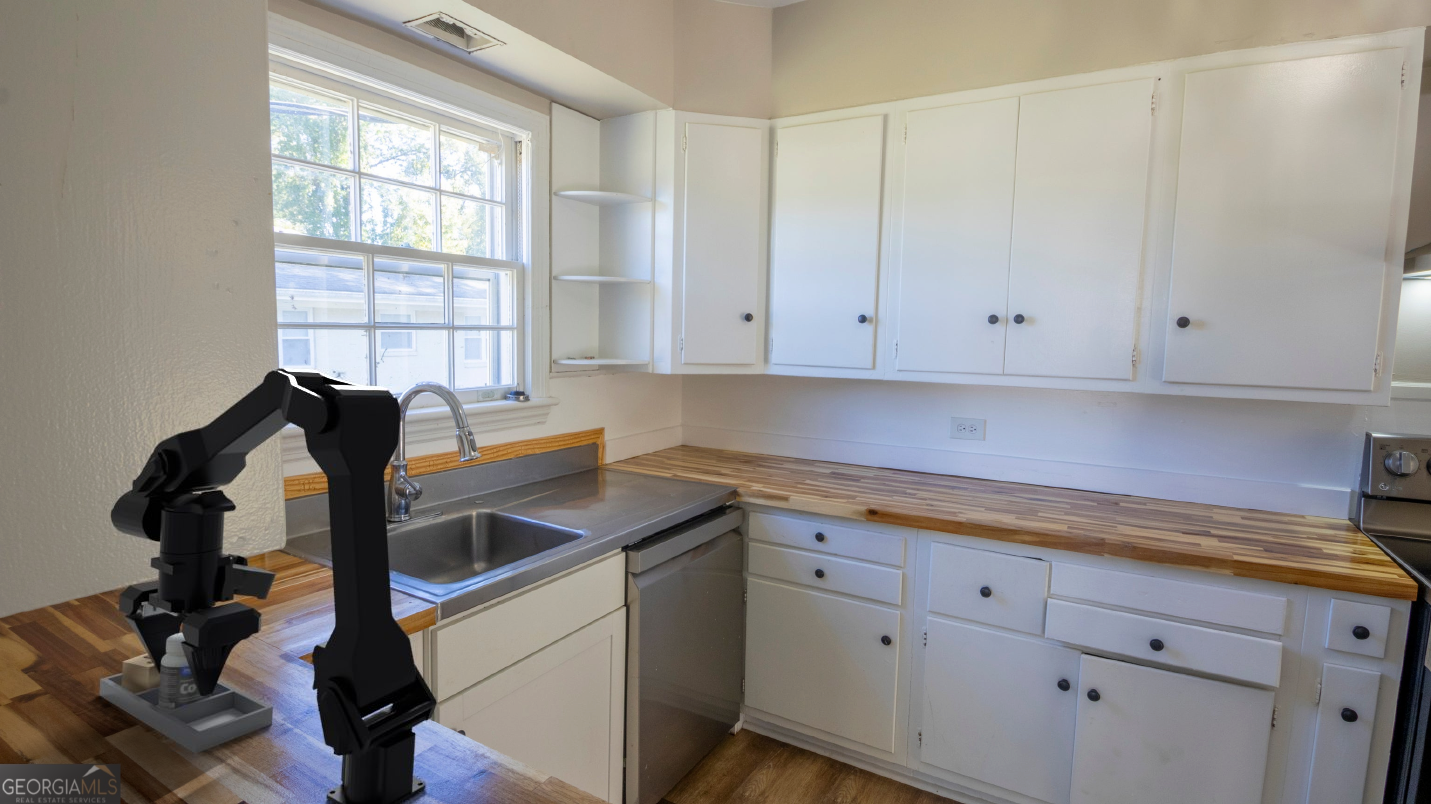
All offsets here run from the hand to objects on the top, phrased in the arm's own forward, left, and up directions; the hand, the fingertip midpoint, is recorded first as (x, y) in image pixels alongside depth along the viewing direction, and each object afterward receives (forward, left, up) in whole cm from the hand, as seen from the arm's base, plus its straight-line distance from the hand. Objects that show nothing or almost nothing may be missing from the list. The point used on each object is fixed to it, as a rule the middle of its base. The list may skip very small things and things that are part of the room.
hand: (185, 683), depth 78 cm
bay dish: (0, 0, -4) cm, 4 cm away
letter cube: (+8, 0, -3) cm, 8 cm away
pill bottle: (0, 0, -3) cm, 3 cm away
